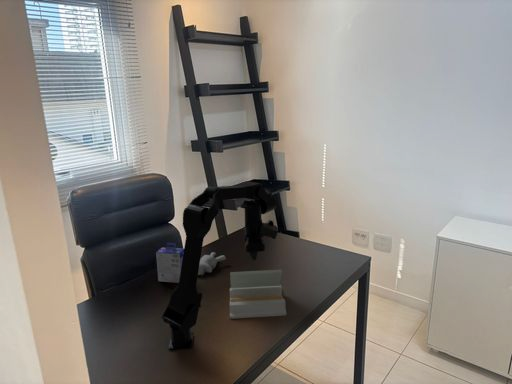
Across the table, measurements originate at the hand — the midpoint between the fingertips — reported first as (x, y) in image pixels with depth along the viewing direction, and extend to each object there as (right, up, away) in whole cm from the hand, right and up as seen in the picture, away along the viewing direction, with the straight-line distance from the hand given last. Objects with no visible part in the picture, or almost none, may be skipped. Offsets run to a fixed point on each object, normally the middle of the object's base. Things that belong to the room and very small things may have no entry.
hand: (254, 259), depth 132 cm
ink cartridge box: (-31, -10, +13) cm, 35 cm away
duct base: (+1, -14, -5) cm, 15 cm away
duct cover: (+1, -6, -6) cm, 8 cm away
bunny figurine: (-19, -8, +20) cm, 29 cm away
